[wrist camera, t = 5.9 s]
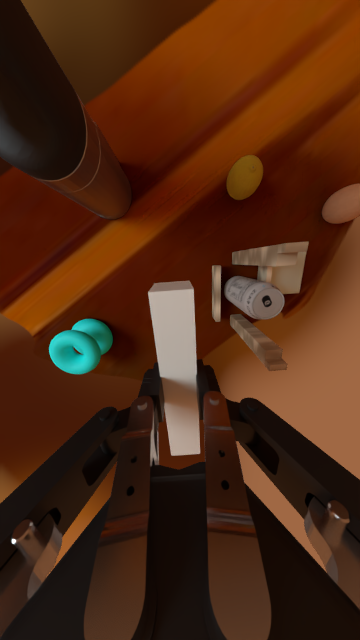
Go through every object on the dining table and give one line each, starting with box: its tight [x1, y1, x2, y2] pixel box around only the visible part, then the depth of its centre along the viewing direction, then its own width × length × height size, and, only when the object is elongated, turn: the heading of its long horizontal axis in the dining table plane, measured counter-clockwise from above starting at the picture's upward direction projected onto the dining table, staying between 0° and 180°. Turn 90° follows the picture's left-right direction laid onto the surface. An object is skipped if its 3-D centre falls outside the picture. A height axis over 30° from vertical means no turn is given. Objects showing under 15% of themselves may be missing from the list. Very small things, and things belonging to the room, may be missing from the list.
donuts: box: [49, 319, 113, 374], centre depth 38 cm, size 10×10×10 cm
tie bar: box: [148, 281, 200, 455], centre depth 13 cm, size 14×2×3 cm, turn 4°
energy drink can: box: [224, 276, 284, 319], centre depth 32 cm, size 6×6×15 cm
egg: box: [322, 184, 360, 224], centre depth 30 cm, size 6×6×8 cm
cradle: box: [212, 242, 309, 371], centre depth 30 cm, size 17×12×19 cm
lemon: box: [227, 155, 263, 200], centre depth 29 cm, size 6×6×8 cm
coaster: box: [271, 252, 306, 294], centre depth 38 cm, size 9×9×1 cm
